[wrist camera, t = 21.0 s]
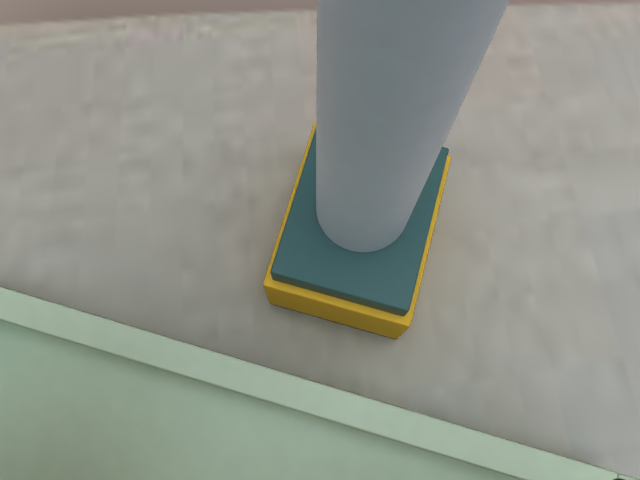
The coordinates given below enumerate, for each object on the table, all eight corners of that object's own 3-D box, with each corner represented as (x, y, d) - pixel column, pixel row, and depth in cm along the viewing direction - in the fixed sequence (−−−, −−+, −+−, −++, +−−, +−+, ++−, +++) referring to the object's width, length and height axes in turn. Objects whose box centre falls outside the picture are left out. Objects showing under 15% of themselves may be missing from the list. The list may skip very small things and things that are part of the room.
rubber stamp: (397, 339, 18) (622, 113, 5) (269, 303, 19) (150, -7, 5) (434, 189, 20) (691, -311, 6) (314, 157, 20) (314, -385, 7)
